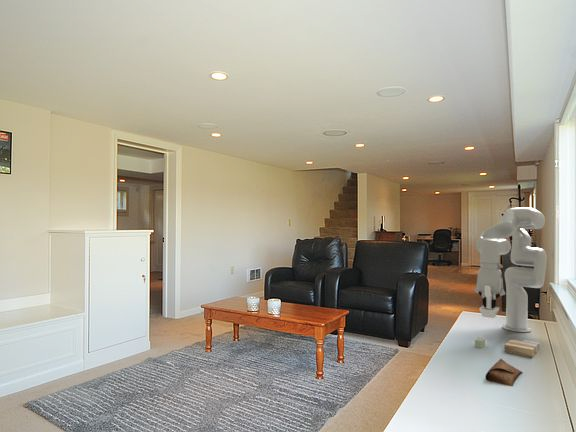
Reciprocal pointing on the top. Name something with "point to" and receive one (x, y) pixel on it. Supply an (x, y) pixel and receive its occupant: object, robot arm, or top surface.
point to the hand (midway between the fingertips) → (489, 307)
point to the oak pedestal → (521, 348)
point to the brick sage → (480, 342)
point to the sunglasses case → (503, 373)
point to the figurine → (488, 305)
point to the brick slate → (533, 342)
